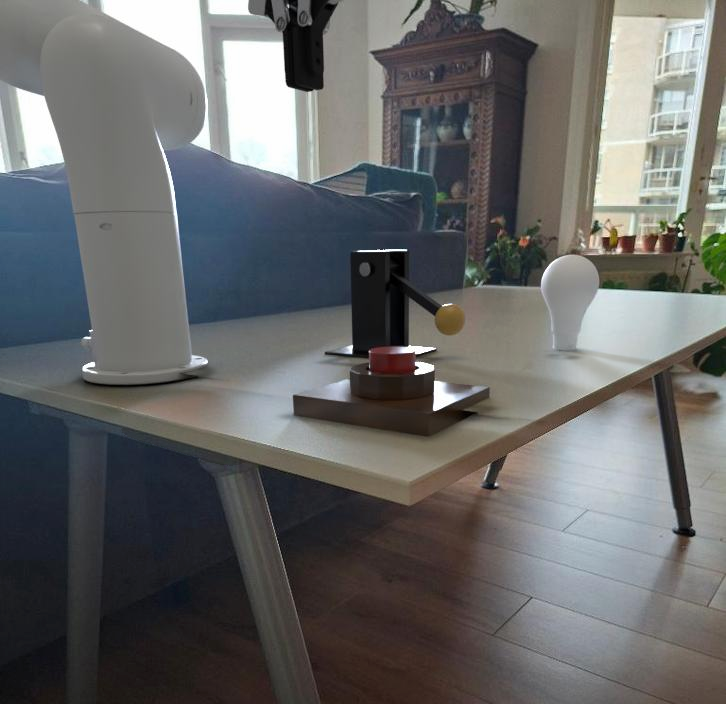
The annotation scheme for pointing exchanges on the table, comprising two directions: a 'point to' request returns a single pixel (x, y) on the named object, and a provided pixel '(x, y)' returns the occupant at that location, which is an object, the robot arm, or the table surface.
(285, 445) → the table surface
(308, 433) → the table surface
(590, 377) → the table surface
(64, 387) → the table surface
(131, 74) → the robot arm
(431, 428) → the button base
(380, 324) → the switch bracket
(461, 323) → the switch lever
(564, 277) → the lightbulb
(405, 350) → the lamp button
